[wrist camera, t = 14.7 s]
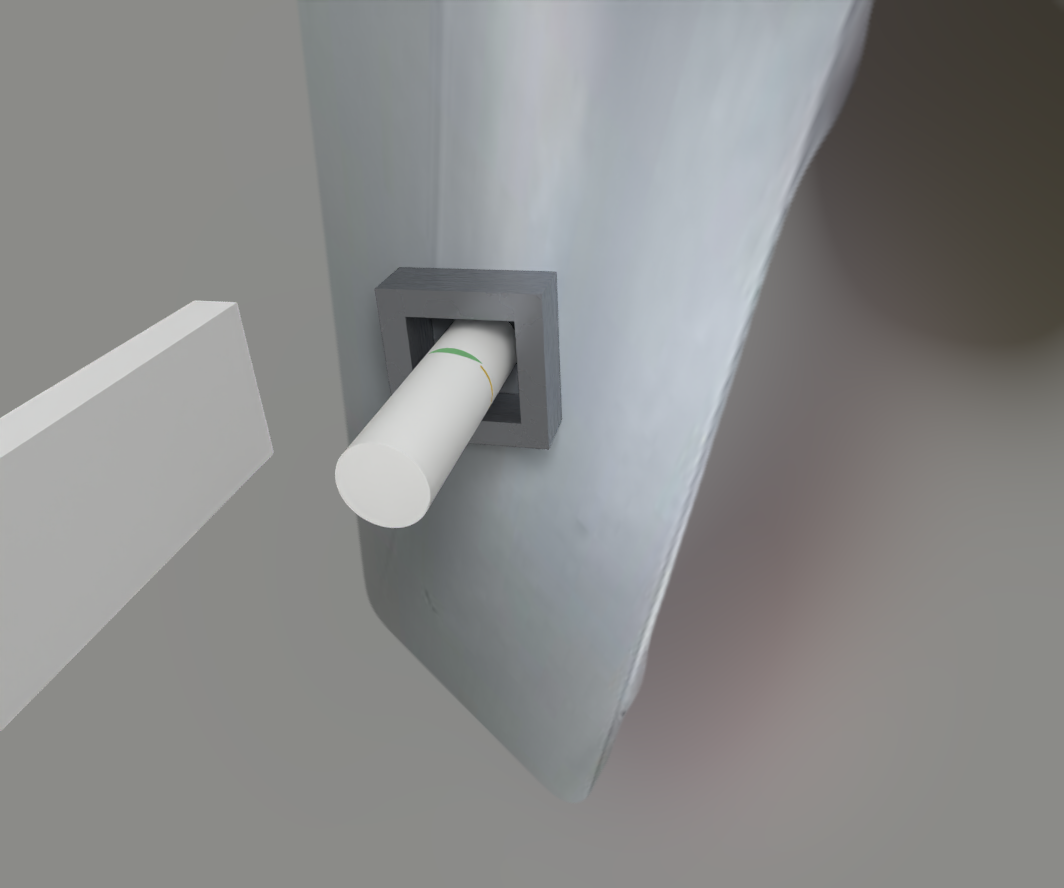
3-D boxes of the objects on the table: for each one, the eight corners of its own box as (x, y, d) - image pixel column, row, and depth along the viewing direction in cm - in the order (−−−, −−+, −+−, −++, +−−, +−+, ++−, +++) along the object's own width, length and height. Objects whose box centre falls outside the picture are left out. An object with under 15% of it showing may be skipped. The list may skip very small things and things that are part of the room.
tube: (534, 353, 46) (450, 500, 34) (481, 391, 48) (383, 542, 36) (486, 295, 45) (380, 424, 33) (433, 336, 47) (315, 472, 35)
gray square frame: (399, 267, 46) (374, 288, 43) (556, 271, 43) (541, 294, 41) (418, 409, 50) (397, 437, 47) (561, 419, 48) (548, 449, 45)
